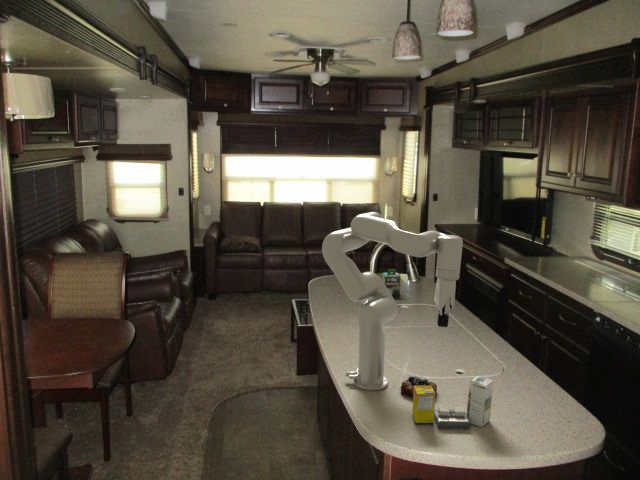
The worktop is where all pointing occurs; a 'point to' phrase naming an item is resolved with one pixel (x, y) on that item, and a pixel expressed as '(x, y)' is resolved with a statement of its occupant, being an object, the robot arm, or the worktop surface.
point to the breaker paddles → (445, 411)
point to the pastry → (409, 385)
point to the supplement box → (423, 405)
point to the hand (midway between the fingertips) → (442, 325)
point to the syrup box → (479, 400)
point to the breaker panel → (451, 421)
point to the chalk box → (392, 282)
